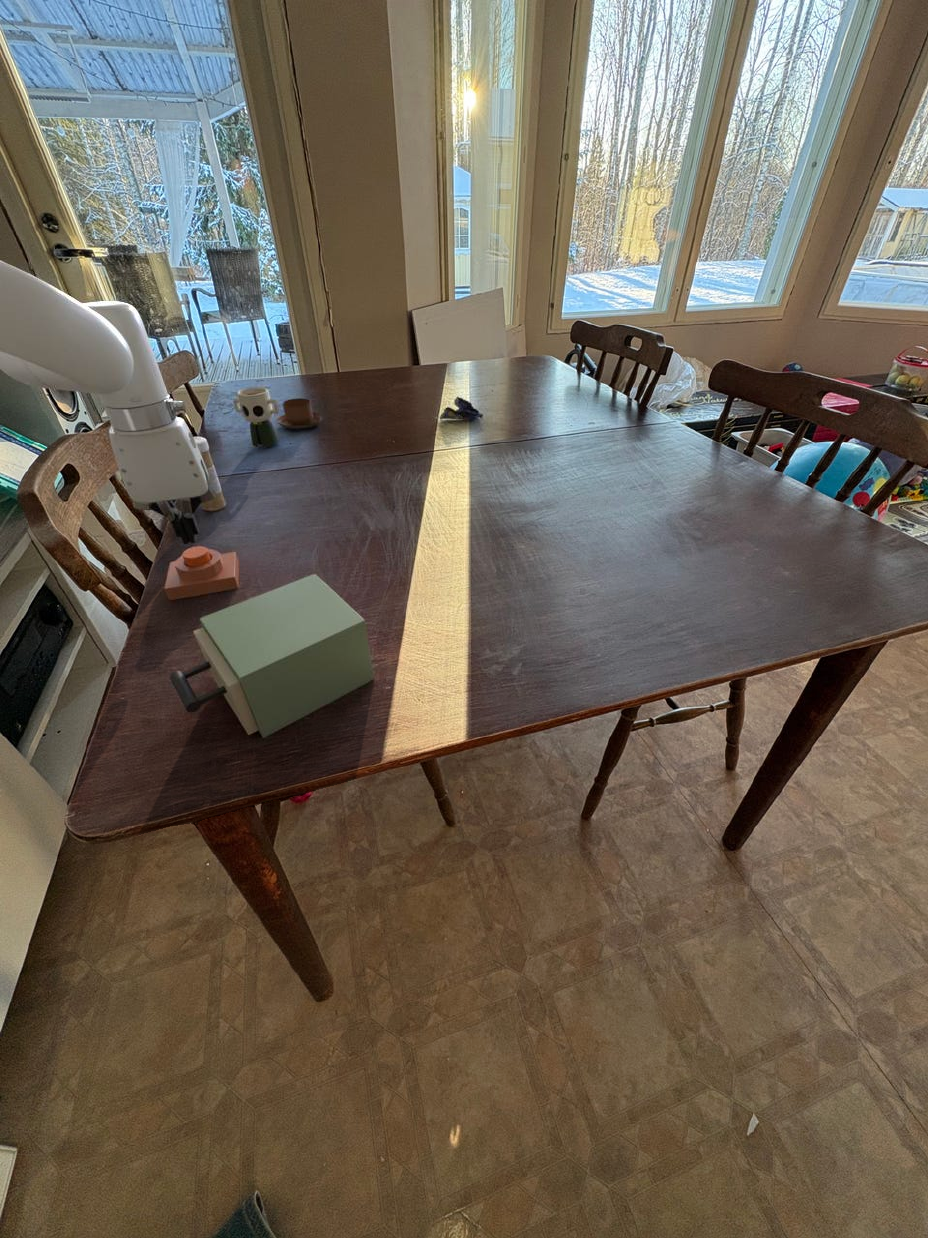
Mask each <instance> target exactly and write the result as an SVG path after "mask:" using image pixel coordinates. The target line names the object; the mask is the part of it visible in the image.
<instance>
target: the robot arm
mask: <svg viewBox="0 0 928 1238" xmlns="http://www.w3.org/2000/svg"><path fill="white" fill-rule="evenodd" d="M157 361H158V360H157V357H156V356H155V353H154V351H153V348H152V343H151V342H150V338H149V336H148V333H147V330H146V328H145V324H144V322H143V319H142V317H141V315H140V313H139V312H138V310H137V309H136V308H135V307H134V306H133V305H132V304H129V303H126V302H123V301H112V300H111V301H110V300H109V301H93V302H85V303H82V302H80V301H78V300H77V299H75V298H74V297H72V296H70V295H68V294H67V293H65V292H63V291H61V290H60V289H59V288H57V287H56V286H53V285H51V284H50V283H48V282H46V281H44V280H43V279H40V278H39V277H36V276H34V275H33V274H31V273H28V272H27V271H25V270H23V269H20V268H18V267H16V266H13V265H12V264H10V263H7V262H5V261H2V260H0V370H1V371H2V372H3V373H5V374H6V375H7V376H8V377H10V378H12V379H13V380H15V381H18V382H19V383H22V384H24V385H28V386H31V387H36V388H41V389H49V390H57V391H69V392H76V393H77V392H78V393H86V394H93V395H97V396H98V397H99V400H100V402H101V405H102V407H103V409H104V411H105V413H106V416H107V418H108V421H109V423H110V425H111V426H110V427H109V429H108V436H109V441H110V445H111V449H112V452H113V456H114V459H115V462H116V463H115V464H116V465H117V469H118V472H119V475H120V477H121V480H122V483H123V486H124V488H125V490H126V492H127V494H128V497H129V498H130V500H131V501H132V507H133V508H134V509H135V510H139V511H153V512H154V513H157V514H158V515H161V516H163V517H164V518H165V519H166V520H167V521H169V522H170V524H171V526H172V529H173V531H174V533H175V536H176V537H177V538H181V541H182V543H183V545H188V544H189V543H191V544H194V543H197V538H198V535H200V533H201V531H200V527H199V524H198V522H197V519H196V517H195V513H196V511H197V509H198V508H199V507H200V505H202V503H205V502H207V501H210V500H212V499H214V498H215V491H214V490H213V488H212V487H211V485H210V484H209V475H208V472H207V469H206V466H205V464H204V461H203V459H202V456H201V454H200V451H199V449H198V446H197V444H196V442H195V440H194V438H193V437H194V435H193V434H192V432H191V430H190V428H189V426H188V424H187V423H186V421H185V419H184V418H182V417H178V415H180V414H182V413H186V412H187V410H186V405H185V403H184V401H177V400H174V399H173V398H171V395H170V394H169V393H168V390H167V387H166V384H165V381H164V379H163V375H162V373H161V370H160V367H159V365H158V362H157ZM176 500H180V506H181V510H179V509H178V508H177V506H176V504H175V503H174V501H176Z"/></svg>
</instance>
